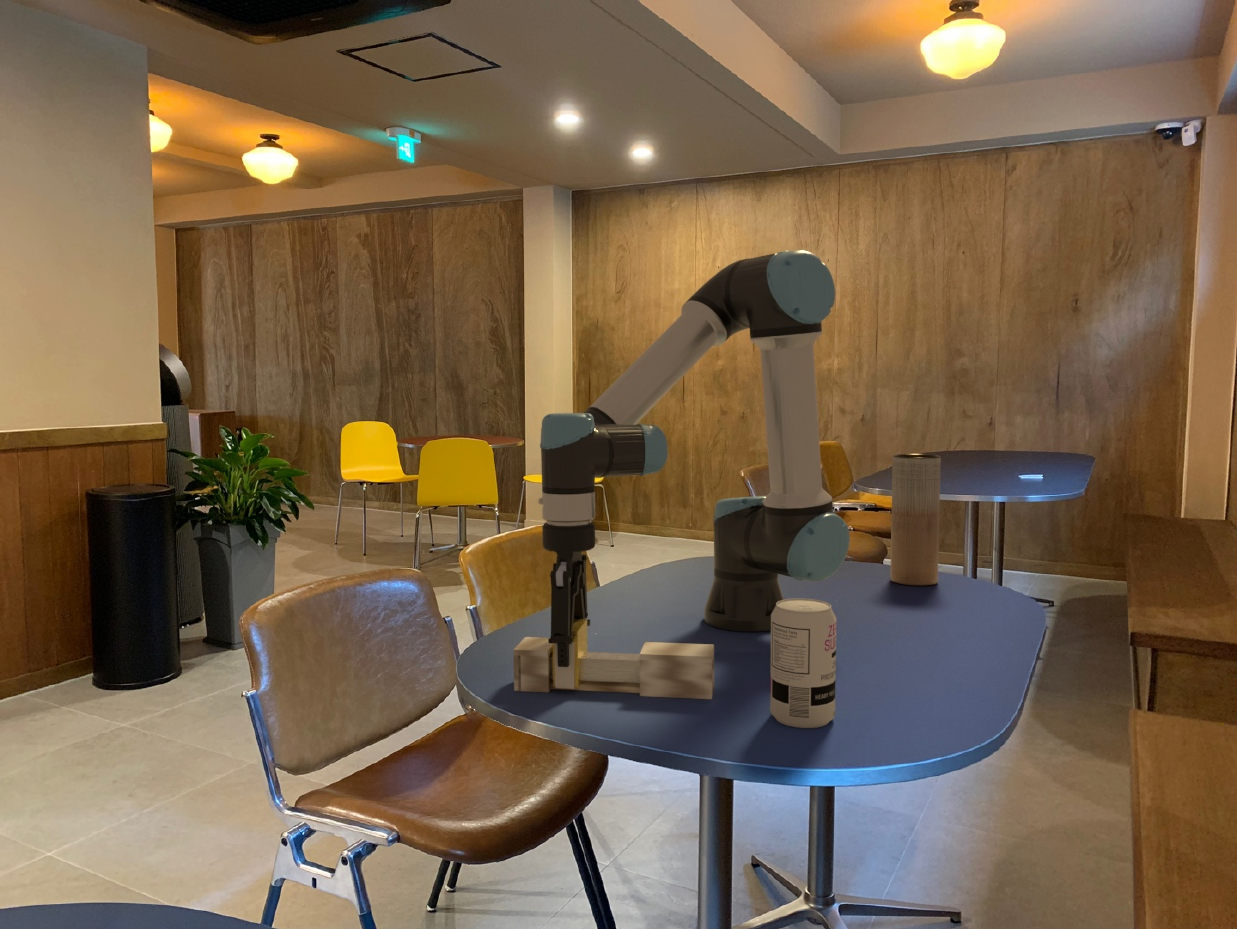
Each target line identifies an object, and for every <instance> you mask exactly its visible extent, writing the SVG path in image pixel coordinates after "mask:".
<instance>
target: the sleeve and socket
mask: <svg viewBox="0 0 1237 929" xmlns="http://www.w3.org/2000/svg"><path fill="white" fill-rule="evenodd" d="M548 638H549V637H540V636H539V637H538V636H534V637H532V636H525V637H524V638H522V640H521V641H520V642H519V643H518V644H517V645H516V646H515V647H514V648H513V691H515V692H532V693H550V691H551V690H565V691H586V692H587V691H589V692H608V693H609V692H611V693H629V694H630V693H631V694H639V696H640V697H650V698H651V697H653V698H675V699H676V698H677V699H696V700H712V699H713V693H714V687H715V644H713V643H711V644H710V643H709V644H707V643H705V644H704V643H683V642H682V643H680V642H658V641H657V642H653V641H651V642H650V641H645V642H644V644H643V646H642V648H641V650H640V653H639V654H640V683H630V682H608V681H585V680H582V682H581V684H580V685H579V687H575V688H574V689H566V688H555V686H553V679H550V653H551V652H552V651H553V643H549V642H548Z"/></svg>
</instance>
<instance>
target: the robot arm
mask: <svg viewBox="0 0 1237 929" xmlns="http://www.w3.org/2000/svg"><path fill="white" fill-rule="evenodd" d="M835 300H836V288H835V282H834V278H833V275H832V273H831V271H830V269H829V268H828V266H827V264H826V263H824V262H822V260H821V258H820V257H819V256H817V255H816V254H814V253H812V252H810V251H807V250H800V249H799V250H784V251H780V252H779V251H778V252H775V253H771V254H766V255H761V256H755V257H750V258H745V259H739V260H736V261H734V262H732V263H730V264H728V265H726V266H725V267H723V268H722V269H720V270H719V271H718V272H716V273H715V275H713V276H712V277H711V278H710V279H708V280H707V281H706V282H704V284H703V285H702V286H700V288H699V289H698V290H696V291H695V293H693V294H692V295H691V296H690V297H689V298H688V299H687V300H686V302H684V303H683V304H682V305H681V310H680V311H681V314H680V316H678V317H677V319H676V320H674V321H673V322H672V324H670V326H669V327H668V328H667V329H666V330H665V331H664V332H663V333H662V334H661V335H660V336H659V337H658V338H657V339H656V340H655V341H654V342H653V343H652V344H651V345H650V346H649V347H648V348H647V349H646V350H645V351H644V352H642V354H641V355H640V356H639V357H638V358H636V360H634V362H633V363H632V364H631V365H630V366H629V367H628V368H627V369H626V370H625V371H624V372H623V373H622V374H621V375H620V376H619V377H618V378H617V379H616V380H615V381H614V382H613V383H612V384H611V385H610V386H609V387H608V388H607V389H605V391H604V392H603V393H602V394H601V395H600V396H599V397H598V398H597V399H596V400H595V401H594V402H593V403H592V404H591V405H590V406H589V407H588V408H587V409H586V410H585V411H583V412H570V413H569V412H558V413H557V412H556V413H547V414H546V415H545V416H544V417H543V418H542V420H541V429H540V443H539V447H540V455H541V459H540V460H541V492H542V494H541V497H540V498H538V504H539V505H542V507H541V508H542V519H543V520H544V521H546V522H544V523H543V525H541V526H542V529H541V530H542V532H541V533H542V536H541V537H542V547H543V549H544V550H546V551H548V552H555V553H556V559H555V560H556V563H555V562H554V563H553V565H552V570H551V571H550V574H549V576H550V586H551V587H550V588H551V591H550V593H551V594H550V637H547V638H548V642H549V643H554V644H555V688H566V689H574V688H575V642H572V641H573V621H574V618H576V619H587V627H590V626H591V619H588V616H589V613H588V590H587V560H588V559H587V557H588V556H587V554H585V553H584V554H583V553H582V552H587V551H591V550H592V549H594V548H595V546H596V524H595V523H594V522H593V520H595V518H596V491H595V490H596V489H595V486H596V484H595V482H596V481H595V480H596V479H601V478H609V477H611V478H612V477H614V478H615V477H629V476H640V477H643V476H645V475H651V474H656V473H659V472H660V471H662V469H663V468H664V466H665V465H666V463H667V459H668V456H669V454H668V453H669V451H668V447H669V446H668V440H667V437H666V435H665V433H664V431H663V430H662V428H660V427H659V426H657V425H654V424H643V423H640V422H641V420H642V419H643V418H645V416H646V415H647V414H648V413H649V412H650V411H651V410H652V409H653V408H654V407H655V406H656V405H657V404H658V403H659V402H660V400H662V399H663V398H664V396H666V394H668V392H670V390H672V388H673V387H674V386H675V385H677V383H678V382H679V381H680V380H681V379H682V378H683V377H684V376H685V375H686V374H687V373H688V372H689V371H690V370H691V369H692V368H693V367H694V365H696V364H697V363H698V362H699V361H700V360H701V358H703V357H704V356H705V354H707V352H708V351H709V350H711V348H713V347H719V346H722V345H724V344H725V342H727V340H728V339H729V338H731V337H732V336H733V335H735V334H737V333H739V332H741V331H744V330H747V329H749V337H750V338H749V340H750V341H751V342H752V343H753V344H755V346H756V347H758V349H759V350H760V361H761V362H760V363H761V375H762V376H761V377H762V388H763V389H762V390H763V402H764V403H763V404H764V405H763V406H764V418H765V421H764V422H765V432H766V445H767V460H768V461H767V462H768V463H767V464H768V473H769V474H768V476H769V487H770V489H769V490H770V491H769V492H768V494H767V495H756V496H755V495H754V496H744V497H743V496H742V497H741V496H740V497H731V498H722V499H720V500H718V501H717V502H716V503H715V505H714V516H713V520H712V522H713V567H714V568H713V570H714V571H713V582H712V585H711V588H710V591H709V594H708V597H707V600H706V603H705V605H704V623H706V624H708V625H709V626H711V627H715V628H718V629H722V630H727V631H735V632H764V631H767V632H768V631H771V614H772V612H773V610H774V608H775V607H776V603H777V602H778V601H781V600H785V597H784V595H783V594H784V593H783V592H782V587H781V585H780V581H779V575H780V576H781V575H782V576H786V577H789V578H791V579H792V578H793V579H795V580H796V581H808V582H821V581H825V580H827V579H828V578H830V577H832V576H833V575H835V573H836V572H837V571H838V570H839V569H840V567H841V565H842V564H843V563H844V562H845V560H846V558H847V555H848V552H849V550H850V549H849V548H850V543H851V542H850V540H851V539H850V536H851V535H850V530H849V527H848V524H847V523H846V521H844V519H843V518H842V517H841V516H840V515H838V514H837V513H835V512H834V506H833V505H834V504H833V496H831V494H830V493H828V492H827V491H826V490H825V489H824V488H823V477H822V463H821V448H820V446H821V444H820V434H819V433H820V431H819V430H820V429H819V428H820V427H819V415H818V414H819V413H818V411H819V410H818V400H817V399H818V398H817V397H818V396H817V383H816V382H817V381H816V368H815V366H816V365H815V350H814V345H815V342H816V341H817V340H818V339H819V337H821V335H822V334H823V330H822V329H823V326H822V322H823V321H824V320H825V319H826V318H827V317H828V316H829V315H830V314H831V312H832V310H831V309H832V308H833V307H834V304H835ZM559 633H563V634H559Z"/></svg>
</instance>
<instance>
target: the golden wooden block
mask: <svg viewBox="0 0 1237 929" xmlns="http://www.w3.org/2000/svg"><path fill="white" fill-rule="evenodd" d="M587 620H588V618H587V619H586V618H585V619H576V618H574V621H573V641H572V642H575V687H579V685H580V684H581V682H582V680H585V681H608V682H630V683H640V653H628V652H627V653H624V652H623V653H622V652H600V651H599V652H598V651H588V626H587ZM559 634H563V633H559ZM550 679H553V686H555V644H554V643H553V651H552V652H551V653H550Z"/></svg>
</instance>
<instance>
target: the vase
mask: <svg viewBox="0 0 1237 929" xmlns="http://www.w3.org/2000/svg"><path fill="white" fill-rule="evenodd" d="M941 458H942V457H941V456H940V455H938V454H926V453H902V454H901V453H900V454H899V453H898V454H894V455H893V456H892V469H891V470H892V473H891V474H892V476H891V477H892V478H891V480H892V481H891V520H890V521H891V523H890V524H891V526H890V527H891V528H890V530H891V531H890V534H891V538H890V574H889V575H890V580H891V582H892V583H895V584H898V585H899V584H900V585H905V586H913V587H926V586H934V585H936V584H937V583H938V582H939V581H938V580H939V550H940V549H939V546H940V545H939V541H940V539H939V538H940V535H939V534H940V501H941V499H940V498H941V463H942V462H941V460H942V459H941Z"/></svg>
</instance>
